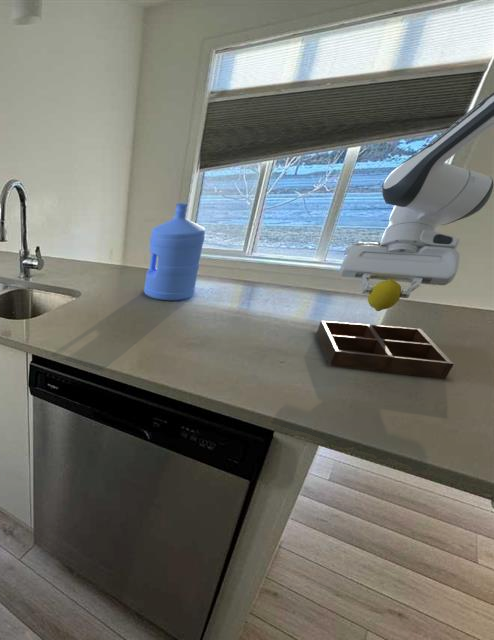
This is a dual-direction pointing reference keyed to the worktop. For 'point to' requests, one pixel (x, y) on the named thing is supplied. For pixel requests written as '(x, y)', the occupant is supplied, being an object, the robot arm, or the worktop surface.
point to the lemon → (384, 295)
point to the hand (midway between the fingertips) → (385, 294)
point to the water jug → (174, 257)
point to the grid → (382, 349)
